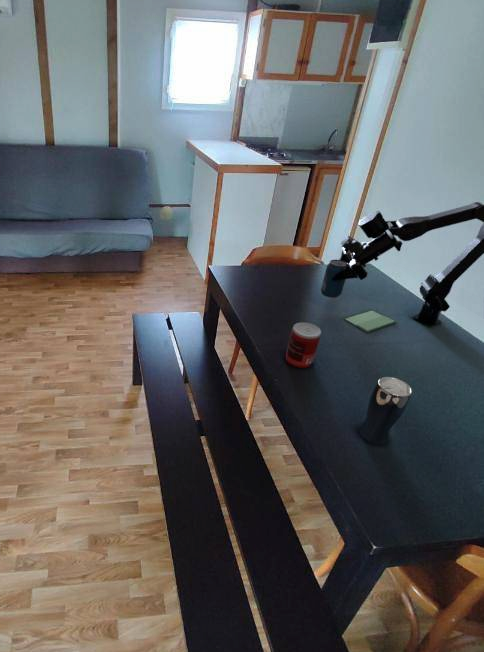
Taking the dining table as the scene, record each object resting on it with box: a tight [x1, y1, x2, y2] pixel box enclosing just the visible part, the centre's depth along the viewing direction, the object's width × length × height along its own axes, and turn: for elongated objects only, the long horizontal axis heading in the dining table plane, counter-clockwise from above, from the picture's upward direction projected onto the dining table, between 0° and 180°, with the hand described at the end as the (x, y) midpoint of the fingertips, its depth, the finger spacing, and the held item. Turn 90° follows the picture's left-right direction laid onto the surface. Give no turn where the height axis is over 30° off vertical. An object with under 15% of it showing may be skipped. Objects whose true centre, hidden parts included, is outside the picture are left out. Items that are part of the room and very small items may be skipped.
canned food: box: [285, 322, 322, 369], centre depth 118 cm, size 8×8×11 cm
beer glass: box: [358, 376, 413, 446], centre depth 92 cm, size 7×7×15 cm
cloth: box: [344, 310, 396, 333], centre depth 141 cm, size 14×9×1 cm, turn 117°
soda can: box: [320, 259, 347, 299], centre depth 142 cm, size 7×7×12 cm
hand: (331, 275), depth 142 cm, fingers closed on soda can, 7 cm apart
